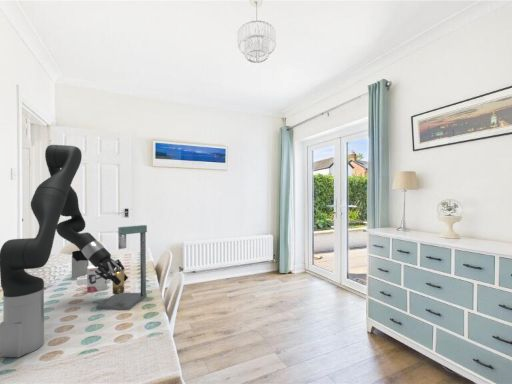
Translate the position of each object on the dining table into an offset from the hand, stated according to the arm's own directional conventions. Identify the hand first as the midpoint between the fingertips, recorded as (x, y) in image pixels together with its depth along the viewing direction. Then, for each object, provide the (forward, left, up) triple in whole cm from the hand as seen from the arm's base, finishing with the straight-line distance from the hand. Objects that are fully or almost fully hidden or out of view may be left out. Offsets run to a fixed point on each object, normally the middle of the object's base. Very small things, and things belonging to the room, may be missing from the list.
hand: (122, 281), depth 112 cm
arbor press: (0, 0, -9) cm, 9 cm away
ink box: (+14, +22, -9) cm, 28 cm away
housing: (0, +2, -5) cm, 5 cm away
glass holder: (+33, +43, -9) cm, 55 cm away
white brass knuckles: (+27, +32, -10) cm, 43 cm away
